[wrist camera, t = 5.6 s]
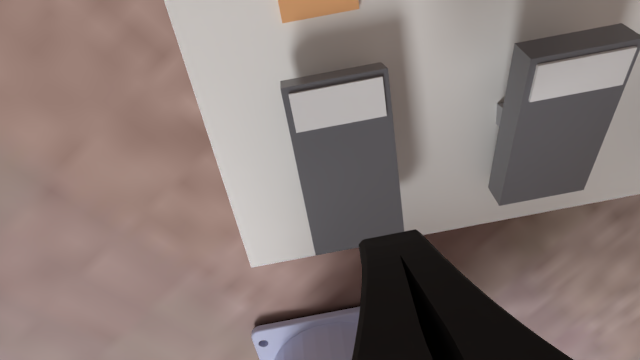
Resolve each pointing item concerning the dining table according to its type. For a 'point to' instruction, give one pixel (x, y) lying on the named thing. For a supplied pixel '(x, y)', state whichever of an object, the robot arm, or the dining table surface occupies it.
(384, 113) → the block
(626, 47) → the block
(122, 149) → the dining table surface
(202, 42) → the switch panel
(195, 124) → the dining table surface
